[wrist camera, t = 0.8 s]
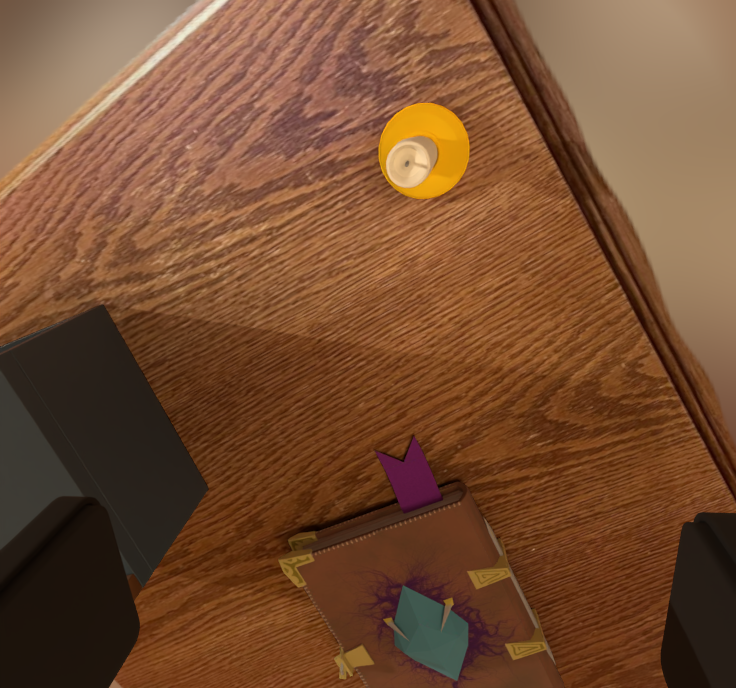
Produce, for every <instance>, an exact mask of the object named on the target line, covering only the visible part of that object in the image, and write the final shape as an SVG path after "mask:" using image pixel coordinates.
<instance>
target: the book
mask: <svg viewBox="0 0 736 688" xmlns="http://www.w3.org/2000/svg"><path fill="white" fill-rule="evenodd" d="M375 452H376V454H377V456H378V458H379V460H380V462H381V464H382V466H383V467H384V469H385V471H386V473H387V476H388V478H389V480H390V482H391V484H392V487H393V489H394V492H395V494H396V497H397V499H398V502H399V503H396V504H393V505H390V506H387V507H384V508H382V509H379V510H376V511H373V512H370V513H368V514H365V515H362V516H359V517H356V518H354V519H351V520H348V521H345V522H342V523H340V524H337V525H334V526H331V527H328V528H326V529H323V530H320V531H317V532H315V531H312V532H304V533H298V534H296V535H294V536H292V537H290V538H289V539H288V542H289V545H290V547H291V549H292V551H291V552H289V553H287V554H285V555H283V556H282V557H280V558H279V559H278V561H279V563H280V565H281V568H282V570H283V572H284V574H285V575H286V576H287V577H288V578H289V579H290V580H291V581H292V582H293V583H294V584H295V585H296V586H297V587H298V588H299V587H301V586H303V588H304V589H305V591H306V593H307V594H308V596H309V597H310V599H311V600H312V602H313V604H314V605H315V607H316V608H317V610H318V611H319V613H320V615H321V616H322V618H323V619H324V621H325V623H326V624H327V626H328V627H329V629H330V630H331V632H332V634H333V635H334V637H335V638H336V640H337V641H338V643H339V645H340V655H339V656H337V657H335V658H334V660H335V662H336V663H337V665H338V666H339V668H340V675H339V679H346V676H347V672H348V673H349V675H350V676H353V669H354V668H355V670H356V671H357V673H358V674H359V676H360V678H361V679H362V681H363V682H364V684H365V685H366V687H367V688H565V686H564V682H563V680H562V678H561V676H560V674H559V672H558V670H557V668H556V666H555V664H556V663H555V660H554V658H553V655H552V652H551V650H550V647H549V645H548V643H547V641H546V639H545V637H544V635H543V631H542V628H541V624H540V620H539V617H538V614H537V612H536V610H535V608H534V609H531V608H530V606H529V604H528V602H527V600H526V598H525V596H524V594H523V592H522V590H521V588H520V586H519V584H518V582H517V579H516V577H515V575H514V573H513V571H512V569H511V567H510V565H509V563H508V559H507V555H506V551H505V546H504V544H503V542H502V540H501V538H498V539H497V538H496V536H495V534H494V532H493V530H492V528H491V527H490V525H489V524H488V522H487V521H486V519H485V518H484V519H483V517H482V515H481V513H480V511H479V509H478V507H477V505H476V503H475V501H474V499H473V497H472V495H471V493H470V491H469V489H468V487H467V486H466V485H465V484H463V483H461V482H458V481H457V482H455V483H452V484H449V485H446V486H443V487H441V488H438V486H437V484H436V481H435V479H434V476H433V474H432V472H431V469H430V467H429V465H428V462H427V460H426V458H425V456H424V454H423V452H422V450H421V448H420V446H419V444H418V442H417V440H416V438H415V436H414V437H413V439H412V442H411V444H410V447H409V450H408V452H407V455H406V457H405V460H404V462H402V461H400V460H397V459H395V458H392V457H390V456H387V455H385V454H382V453H379V452H377V451H375ZM484 520H485V521H484ZM553 661H554V662H553ZM554 663H555V664H554Z"/></svg>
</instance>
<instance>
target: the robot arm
mask: <svg viewBox="0 0 736 688" xmlns="http://www.w3.org/2000/svg"><path fill="white" fill-rule="evenodd" d="M139 629H140V622H139V617H138V614H137V610H136V607H135V603H134V600H133V597H132V593H131V590H130V586H129V583H128V579H127V576H126V572H125V569H124V565H123V562H122V559H121V555H120V552H119V548H118V545H117V541H116V538H115V534H114V531H113V527H112V524H111V521H110V517H109V514H108V511H107V509H106V508H105V507H104V506H101V505H100V503H99V501H98V500H97V499H96V498H93V497H79V496H61V497H57V498H56V499H55V500H53V501H52V502H51V503H50V504H49V505H48V506H47V507H46V508H44V509H43V510H42V511H41V512H40V513H39V514H38V515H37V516H36V517H35V518H34V519H33V520H32V521H31V522H30V523H29V524H27V525H26V526H25V527H24V528H23V529H22V530H21V531H20V532H19V533H18V534H17V535H16V536H15V537H14V538H13V539H12V540H11V541H9V542H8V543H7V544H6V545H5V546H4V547H3V548H2V549H1V550H0V688H109V686H110V685H111V683H112V682H113V680H114V678H115V677H116V675H117V673H118V672H119V670H120V668H121V667H122V665H123V663H124V662H125V660H126V658H127V657H128V655H129V653H130V652H131V650H132V648H133V647H134V645H135V643H136V641H137V638H138V635H139ZM661 665H662V671H663V675H664V678H665V681H666V683H667V686H668V688H736V513H706V512H701V513H698V514H697V515H696V517H695V519H694V522H686V523H685V524H684V525H683V527H682V531H681V537H680V542H679V548H678V554H677V560H676V566H675V572H674V578H673V584H672V589H671V595H670V601H669V607H668V613H667V619H666V625H665V630H664V636H663V642H662V648H661Z"/></svg>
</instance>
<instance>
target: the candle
mask: <svg viewBox="0 0 736 688" xmlns="http://www.w3.org/2000/svg"><path fill="white" fill-rule="evenodd" d="M469 151H470V144H469V139H468V134H467V132H466V130H465V128H464V126H463V124H462V122H461V121H460V119H459V118H458V117H457V116H456V115H455V114H454V113H453V112H451V111H450V110H448V109H447V108H445V107H443V106H441V105H437V104H433V103H417V104H414V105H411V106H408V107H406V108H404V109H403V110H401V111H399V112H398V113H396V114H395V115H394V117H393V118H392V119H391V120H390V121H389V122H388V123H387V125H386V127H385V129H384V131H383V133H382V135H381V139H380V143H379V162H380V166H381V170H382V172H383V174H384V176H385V178H386V179H387V181H388V182H389V183H390V184H391V185H392V186H393V188H394V189H395V190H397V191H399V192H400V193H402V194H404V195H405V196H408V197H412V198H415V199H430V198H433V197H437V196H440V195H442V194H444V193H445V192H447V191H449V190H450V189H451V188H452V187H453V186H454V185H455V184H456V183H457V182H458V181H459V180H460V178H461V177H462V175H463V173H464V172H465V170H466V167H467V163H468V160H469Z"/></svg>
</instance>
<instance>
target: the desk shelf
mask: <svg viewBox="0 0 736 688" xmlns="http://www.w3.org/2000/svg"><path fill="white" fill-rule="evenodd" d="M207 490H208V487H207V485H206V483H205V481H204V480H203V478H202V476H201V474H200V473H199V471H198V469H197V467H196V466H195V464H194V462H193V460H192V459H191V457H190V455H189V453H188V452H187V450H186V448H185V446H184V445H183V443H182V441H181V439H180V438H179V436H178V434H177V432H176V431H175V429H174V427H173V425H172V424H171V422H170V420H169V419H168V417H167V415H166V413H165V412H164V410H163V408H162V406H161V405H160V403H159V401H158V399H157V398H156V396H155V394H154V392H153V391H152V389H151V387H150V385H149V384H148V382H147V380H146V378H145V377H144V375H143V373H142V371H141V370H140V368H139V366H138V364H137V363H136V361H135V359H134V357H133V356H132V354H131V352H130V350H129V349H128V347H127V345H126V343H125V342H124V340H123V338H122V336H121V335H120V333H119V331H118V329H117V328H116V326H115V324H114V322H113V321H112V319H111V317H110V315H109V314H108V312H107V310H106V308H105V307H104V305H99V306H97V307H95V308H92V309H90V310H87V311H85V312H82V313H80V314H78V315H75V316H73V317H70V318H68V319H65V320H63V321H61V322H58V323H56V324H53V325H51V326H48V327H46V328H44V329H41V330H39V331H36V332H34V333H32V334H29V335H27V336H24V337H22V338H19V339H17V340H15V341H12V342H10V343H7V344H5V345H3V346H0V550H1V549H2V548H3V547H4V546H5V545H6V544H7V543H8V542H9V541H11V540H12V539H13V538H14V537H15V536H16V535H17V534H18V533H19V532H20V531H21V530H22V529H23V528H24V527H25V526H26V525H27V524H29V523H30V522H31V521H32V520H33V519H34V518H35V517H36V516H37V515H38V514H39V513H40V512H41V511H42V510H43V509H44V508H46V507H47V506H48V505H49V504H50V503H51V502H52V501H53V500H55V499H56V498H57V497H61V496H79V497H93V498H96V499H97V500H98V501H99V503H100V505H101V506H104V507H105V508H106V509H107V511H108V514H109V517H110V521H111V524H112V527H113V531H114V534H115V538H116V541H117V545H118V548H119V552H120V555H121V559H122V562H123V565H124V569H125V572H126V576H127V579H128V583H129V586H130V590H131V593H132V597H133V600H135V599H136V597H137V596H138V594H139V593H140V591H141V590H142V588H143V587H144V586H145V584H146V583H147V581H148V580H149V578H150V577H151V575H152V574H153V572H154V570H155V569H156V567H157V566H158V564H159V563H160V561H161V560H162V558H163V557H164V555H165V554H166V552H167V551H168V549H169V548H170V546H171V545H172V543H173V542H174V540H175V539H176V537H177V536H178V534H179V533H180V531H181V530H182V528H183V527H184V525H185V524H186V522H187V521H188V519H189V518H190V516H191V515H192V513H193V512H194V510H195V509H196V507H197V506H198V504H199V503H200V501H201V500H202V498H203V497H204V495H205V494H206V492H207Z"/></svg>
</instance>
